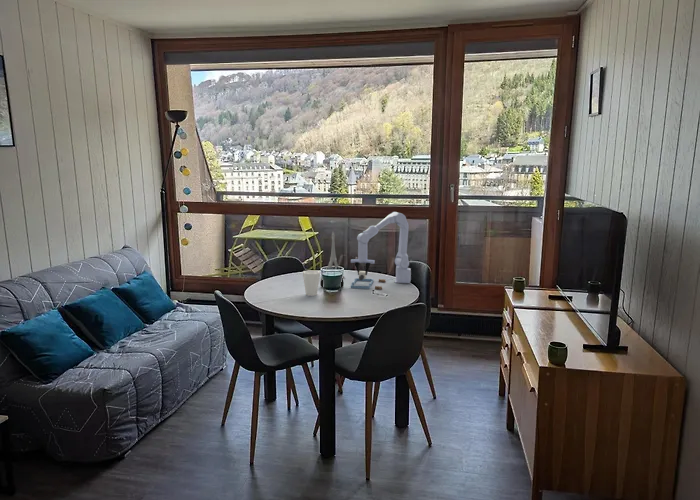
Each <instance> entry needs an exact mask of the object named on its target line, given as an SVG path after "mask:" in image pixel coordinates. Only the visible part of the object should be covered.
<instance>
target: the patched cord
mask: <svg viewBox="0 0 700 500" xmlns="http://www.w3.org/2000/svg"><path fill="white" fill-rule="evenodd" d="M365 273H366V270H360V271H359V275H358V278H359V280H363V279H367V275H366V274H365Z"/></svg>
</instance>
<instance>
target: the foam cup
mask: <svg viewBox="0 0 700 500" xmlns="http://www.w3.org/2000/svg"><path fill="white" fill-rule="evenodd" d="M320 276H321V273H320V271H319V270H311V269H309V270H308V269H307V270H303V271H302V277H303V283H304V290H305V295H306V296H309V297H314V296H317V295H318V291H319V282H320Z"/></svg>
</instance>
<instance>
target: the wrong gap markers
mask: <svg viewBox="0 0 700 500" xmlns="http://www.w3.org/2000/svg"><path fill="white" fill-rule="evenodd" d="M378 283H386V279H384V278H383V279H382V278H379V279H378ZM374 290H380V291H382V290H383V286H382V285H380V286H379V285H375V286H374Z"/></svg>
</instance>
